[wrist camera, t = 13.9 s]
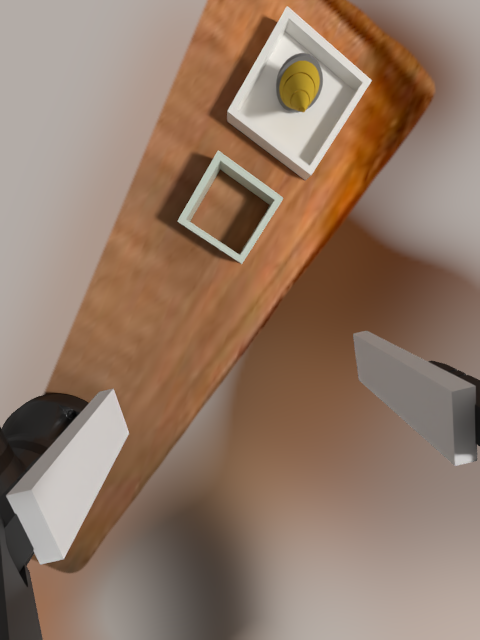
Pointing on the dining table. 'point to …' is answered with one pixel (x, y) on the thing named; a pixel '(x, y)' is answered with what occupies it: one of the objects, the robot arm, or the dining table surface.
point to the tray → (298, 128)
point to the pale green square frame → (244, 179)
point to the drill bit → (299, 82)
